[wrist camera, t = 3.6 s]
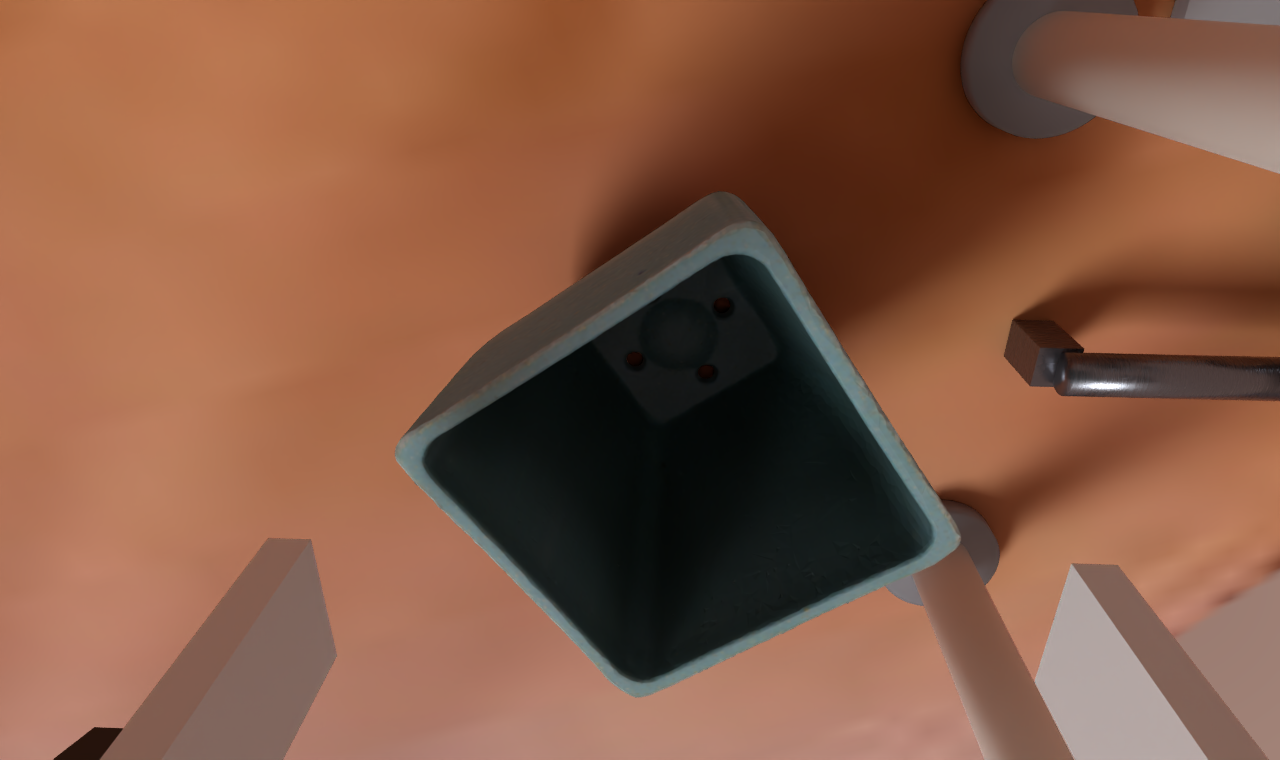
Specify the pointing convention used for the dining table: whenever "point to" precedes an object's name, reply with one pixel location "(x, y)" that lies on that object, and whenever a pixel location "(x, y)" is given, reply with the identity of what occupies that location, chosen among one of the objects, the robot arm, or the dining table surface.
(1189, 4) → the tile
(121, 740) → the robot arm
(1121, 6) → the post
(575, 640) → the flower pot
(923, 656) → the dining table surface
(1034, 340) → the bent rail
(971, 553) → the post
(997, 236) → the dining table surface
